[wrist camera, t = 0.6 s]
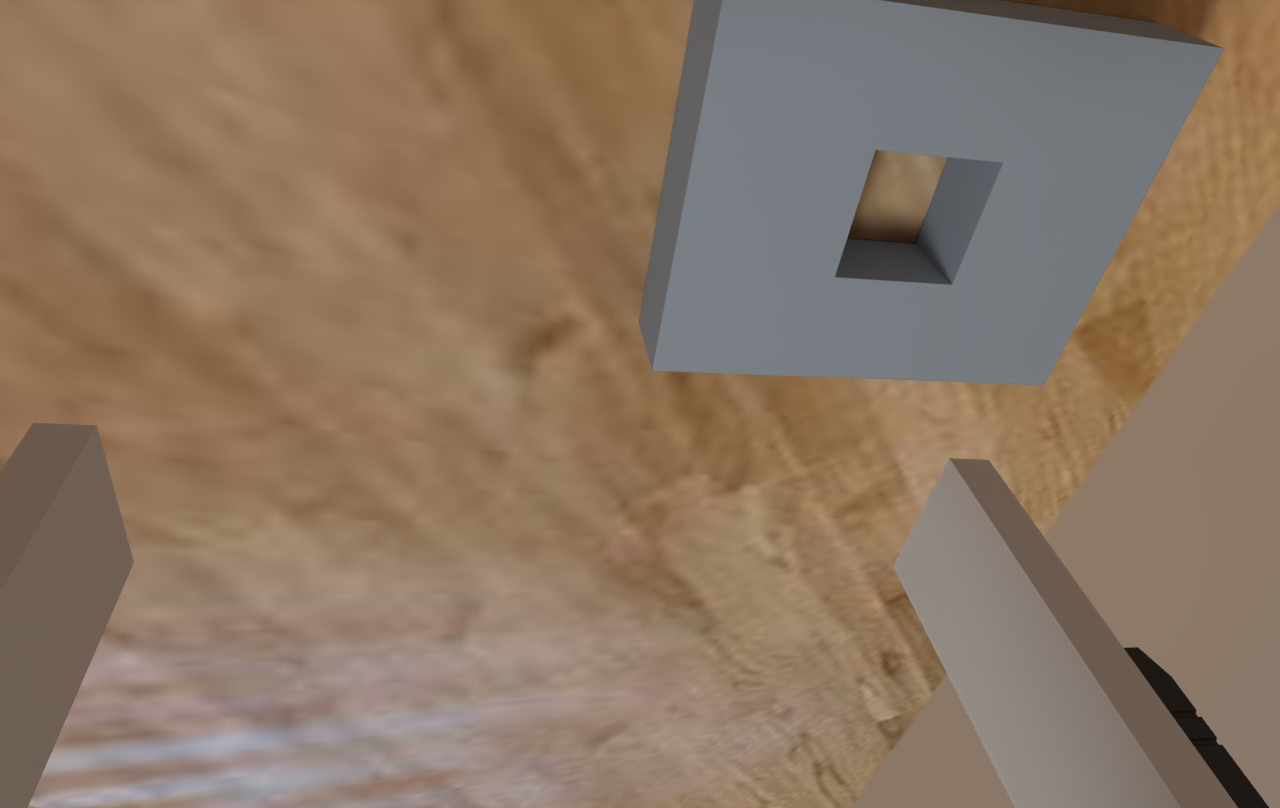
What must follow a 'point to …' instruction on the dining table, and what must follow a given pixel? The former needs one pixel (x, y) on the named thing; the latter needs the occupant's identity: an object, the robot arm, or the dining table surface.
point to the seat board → (918, 124)
